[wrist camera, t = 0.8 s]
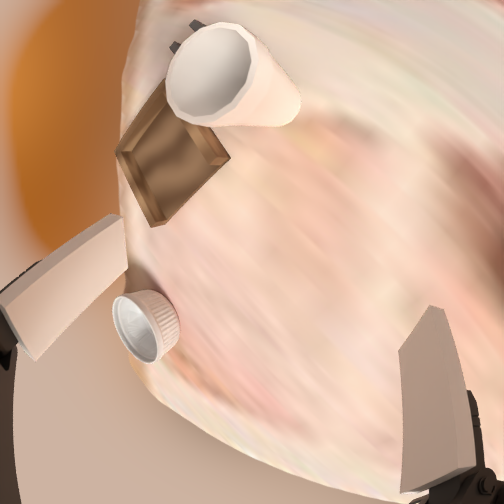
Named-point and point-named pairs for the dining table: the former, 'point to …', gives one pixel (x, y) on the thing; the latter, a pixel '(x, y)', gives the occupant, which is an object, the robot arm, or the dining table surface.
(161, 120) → the end holder
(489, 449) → the dining table surface
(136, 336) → the ramekin
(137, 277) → the dining table surface
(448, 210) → the dining table surface
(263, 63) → the foam cup
